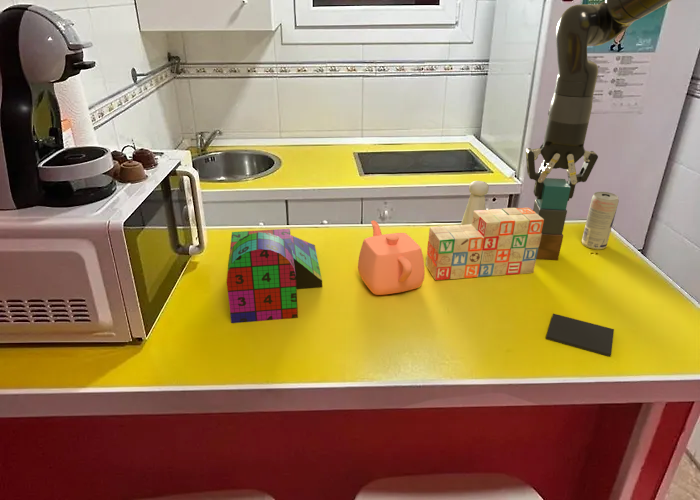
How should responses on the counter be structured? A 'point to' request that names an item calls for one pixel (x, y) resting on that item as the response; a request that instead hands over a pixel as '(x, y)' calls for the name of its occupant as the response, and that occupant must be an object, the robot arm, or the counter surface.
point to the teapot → (390, 262)
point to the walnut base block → (549, 246)
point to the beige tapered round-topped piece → (475, 200)
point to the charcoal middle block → (551, 219)
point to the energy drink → (600, 220)
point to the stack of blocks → (486, 245)
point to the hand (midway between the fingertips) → (552, 198)
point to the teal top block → (554, 194)
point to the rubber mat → (581, 334)
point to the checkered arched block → (269, 274)
